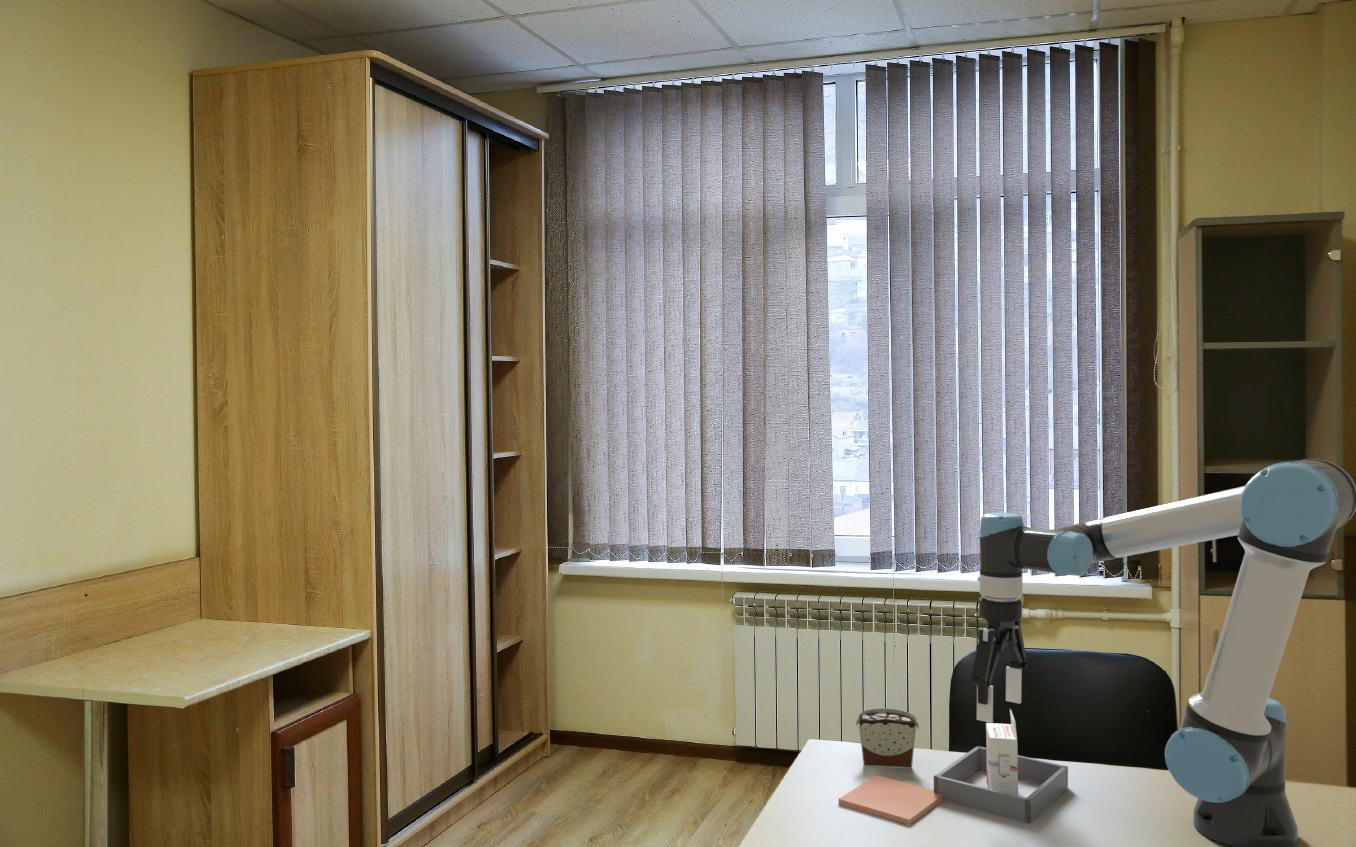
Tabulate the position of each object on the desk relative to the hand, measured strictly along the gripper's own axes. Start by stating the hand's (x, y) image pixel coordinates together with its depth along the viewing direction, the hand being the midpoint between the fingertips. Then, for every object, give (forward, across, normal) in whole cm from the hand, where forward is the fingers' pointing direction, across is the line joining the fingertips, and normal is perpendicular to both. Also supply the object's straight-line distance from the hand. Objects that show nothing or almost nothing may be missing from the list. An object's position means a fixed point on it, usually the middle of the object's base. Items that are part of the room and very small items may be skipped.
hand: (999, 711), depth 182 cm
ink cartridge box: (+15, 0, +1) cm, 15 cm away
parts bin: (+15, 0, 0) cm, 15 cm away
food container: (+16, -1, -23) cm, 28 cm away
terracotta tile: (+15, +16, -14) cm, 26 cm away
